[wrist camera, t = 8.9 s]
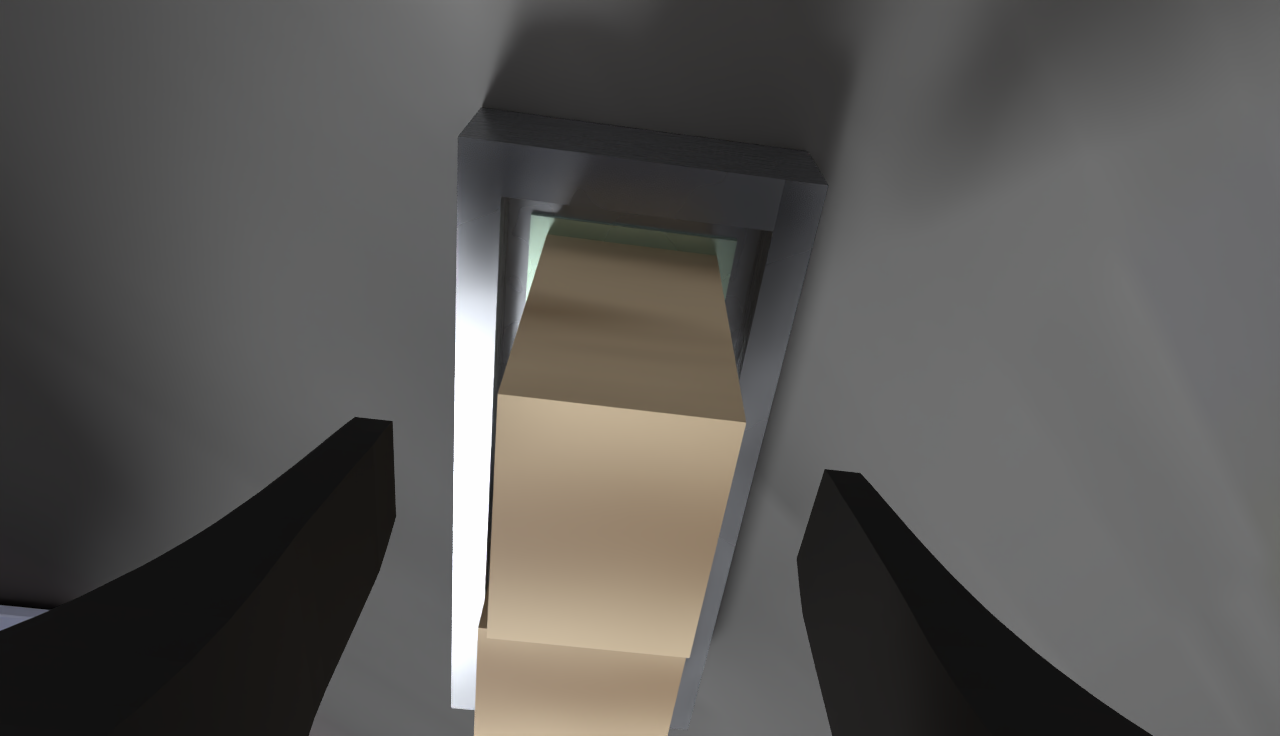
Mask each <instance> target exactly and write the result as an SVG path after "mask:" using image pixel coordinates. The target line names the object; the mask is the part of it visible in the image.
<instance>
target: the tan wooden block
mask: <svg viewBox="0 0 1280 736" xmlns="http://www.w3.org/2000/svg"><path fill="white" fill-rule="evenodd" d="M745 426H746V418H745V412H744V407H743V401H742V395H741V390H740V384H739V379H738V373H737V367H736V362H735V356H734V350H733V345H732V339H731V333H730V328H729V322H728V316H727V311H726V305H725V299H724V294H723V288H722V282H721V277H720V271H719V265H718V260H717V256H715V255H707V254H699V253H691V252H683V251H675V250H668V249H660V248H652V247H644V246H636V245H628V244H620V243H612V242H605V241H597V240H589V239H581V238H573V237H565V236H557V235H549V234H547V236H546V239H545V242H544V246H543V249H542V252H541V255H540V259H539V262H538V265H537V268H536V271H535V275H534V278H533V281H532V284H531V288H530V291H529V294H528V297H527V301H526V304H525V307H524V310H523V314H522V317H521V320H520V323H519V327H518V330H517V333H516V336H515V339H514V343H513V346H512V349H511V352H510V356H509V359H508V362H507V365H506V369H505V372H504V375H503V378H502V382H501V385H500V388H499V391H498V398H497V420H496V443H495V465H494V487H493V509H492V532H491V554H490V576H489V599H488V621H487V638H490V639H500V640H511V641H521V642H531V643H541V644H551V645H561V646H571V647H581V648H592V649H602V650H612V651H622V652H632V653H642V654H652V655H662V656H673V657H683V658H690V654H691V649H692V645H693V641H694V637H695V633H696V629H697V625H698V620H699V616H700V612H701V608H702V604H703V600H704V596H705V591H706V587H707V583H708V579H709V575H710V571H711V567H712V563H713V558H714V554H715V550H716V546H717V542H718V538H719V534H720V529H721V525H722V521H723V517H724V513H725V509H726V505H727V500H728V496H729V492H730V488H731V484H732V480H733V476H734V471H735V467H736V463H737V459H738V455H739V451H740V447H741V442H742V438H743V434H744V430H745Z"/></svg>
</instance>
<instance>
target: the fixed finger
mask: <svg viewBox="0 0 1280 736" xmlns="http://www.w3.org/2000/svg"><path fill="white" fill-rule="evenodd" d="M488 599H489V583H488V588H487V592H486V596H485V600H484V604H483V609H482V613H481V617H480V621H479V626H478V641H477V668H476V696H475V723H474V736H667V735H668V731H669V727H670V723H671V719H672V714H673V710H674V706H675V702H676V698H677V694H678V689H679V685H680V681H681V677H682V673H683V668H684V664H685V660H686V658H683V657H673V656H662V655H652V654H642V653H632V652H622V651H612V650H602V649H592V648H581V647H571V646H561V645H551V644H541V643H531V642H521V641H511V640H500V639H490V638H487V621H488Z"/></svg>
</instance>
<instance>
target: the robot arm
mask: <svg viewBox="0 0 1280 736" xmlns="http://www.w3.org/2000/svg"><path fill="white" fill-rule="evenodd" d="M395 518H396V505H395V477H394V449H393V422H392V421H386V420H377V419H368V418H359V417H354V418H353V419H352V420H350V421H349V422H348V423H346V424H345V425H344V426H343V427H341V428H340V429H339V430H337V431H336V432H335V433H334V434H333V435H331V436H330V437H329V438H328V439H326V440H325V441H324V442H323V443H321V444H320V445H319V446H318V447H317V448H315V449H314V450H313V451H312V452H310V453H309V454H308V455H307V456H305V457H304V458H303V459H302V460H300V461H299V462H298V463H297V464H295V465H294V466H293V467H292V468H290V469H289V470H288V471H286V472H285V473H284V474H282V475H281V476H280V477H279V478H277V479H276V480H275V481H273V482H272V483H271V484H269V485H268V486H267V487H266V488H264V489H263V490H262V491H260V492H259V493H257V494H256V495H255V496H253V497H252V498H251V499H249V500H248V501H246V502H245V503H243V504H242V505H240V506H239V507H238V508H236V509H235V510H233V511H232V512H230V513H229V514H227V515H226V516H225V517H223V518H222V519H220V520H219V521H217V522H216V523H214V524H213V525H211V526H210V527H208V528H207V529H205V530H204V531H202V532H200V533H199V534H197V535H195V536H194V537H192V538H190V539H189V540H187V541H185V542H184V543H182V544H180V545H179V546H177V547H175V548H173V549H172V550H170V551H168V552H166V553H165V554H163V555H161V556H159V557H158V558H156V559H154V560H152V561H150V562H149V563H147V564H145V565H143V566H141V567H139V568H137V569H135V570H133V571H131V572H129V573H127V574H125V575H123V576H121V577H119V578H117V579H115V580H113V581H111V582H109V583H107V584H105V585H103V586H101V587H99V588H97V589H95V590H93V591H91V592H89V593H87V594H85V595H83V596H81V597H79V598H76V599H74V600H72V601H70V602H67V603H65V604H63V605H61V606H58V607H56V608H54V609H51V610H46V609H36V608H26V607H16V606H5V605H0V736H309V733H310V730H311V727H312V724H313V721H314V718H315V715H316V713H317V710H318V708H319V705H320V703H321V700H322V698H323V695H324V693H325V691H326V688H327V686H328V684H329V682H330V679H331V677H332V675H333V673H334V671H335V668H336V666H337V664H338V662H339V660H340V658H341V655H342V653H343V651H344V649H345V647H346V644H347V642H348V640H349V638H350V636H351V633H352V631H353V629H354V627H355V625H356V622H357V620H358V618H359V616H360V614H361V611H362V609H363V607H364V605H365V602H366V600H367V598H368V596H369V594H370V591H371V589H372V587H373V585H374V582H375V580H376V578H377V575H378V573H379V571H380V568H381V564H382V561H383V558H384V555H385V552H386V549H387V545H388V542H389V539H390V535H391V532H392V528H393V525H394V522H395ZM797 566H798V577H799V587H800V596H801V604H802V612H803V617H804V622H805V626H806V630H807V634H808V639H809V643H810V647H811V651H812V655H813V659H814V664H815V668H816V672H817V676H818V680H819V684H820V688H821V692H822V696H823V700H824V704H825V708H826V712H827V716H828V720H829V724H830V728H831V732H832V736H1153V735H1151V734H1150V733H1148V732H1146V731H1145V730H1143V729H1142V728H1140V727H1139V726H1137V725H1136V724H1134V723H1132V722H1131V721H1129V720H1128V719H1126V718H1125V717H1123V716H1122V715H1120V714H1119V713H1117V712H1116V711H1115V710H1113V709H1112V708H1110V707H1109V706H1107V705H1106V704H1104V703H1103V702H1101V701H1100V700H1098V699H1097V698H1096V697H1094V696H1093V695H1092V694H1090V693H1089V692H1088V691H1086V690H1085V689H1083V688H1082V687H1081V686H1079V685H1078V684H1077V683H1075V682H1074V681H1073V680H1071V679H1070V678H1069V677H1067V676H1066V675H1065V674H1063V673H1062V672H1061V671H1059V670H1058V669H1056V668H1055V667H1054V666H1053V665H1051V664H1050V663H1049V662H1048V661H1046V660H1045V659H1044V658H1043V657H1041V656H1040V655H1039V654H1038V653H1036V652H1035V651H1034V650H1033V649H1032V648H1030V647H1029V646H1028V645H1027V644H1026V643H1024V642H1023V641H1022V640H1021V639H1020V638H1019V637H1017V636H1016V635H1015V634H1014V633H1013V632H1012V631H1010V630H1009V629H1008V628H1007V627H1006V626H1005V625H1003V624H1002V623H1001V622H1000V621H999V620H998V619H997V618H996V617H995V616H993V615H992V614H991V613H990V612H989V611H988V610H987V609H986V608H985V607H984V606H983V605H982V604H981V603H980V602H979V601H977V600H976V599H975V598H974V597H973V596H972V595H971V594H970V593H969V592H968V591H967V590H966V589H965V588H964V587H963V586H962V585H961V584H960V583H959V582H958V581H957V580H956V579H955V578H954V577H953V576H952V575H951V574H950V573H949V572H948V571H947V570H946V568H945V567H944V566H943V565H942V564H941V563H940V562H939V561H938V560H937V559H936V558H935V557H934V556H933V555H932V554H931V553H930V551H929V550H928V549H927V548H926V547H925V546H924V545H923V544H922V543H921V542H920V540H919V539H918V538H917V537H916V536H915V535H914V534H913V533H912V531H911V530H910V529H909V528H908V527H907V526H906V525H905V523H904V522H903V521H902V520H901V519H900V518H899V517H898V515H897V514H896V513H895V512H894V511H893V510H892V508H891V507H890V506H889V505H888V504H887V503H886V502H885V500H884V499H883V498H882V497H881V496H880V495H879V493H878V492H877V491H876V490H875V489H874V488H873V487H872V485H871V484H870V483H869V482H868V481H867V480H866V479H865V478H864V477H863V476H862V474H861V473H854V472H845V471H836V470H827V469H825V470H824V473H823V477H822V480H821V483H820V486H819V489H818V493H817V496H816V499H815V502H814V505H813V509H812V512H811V515H810V518H809V521H808V524H807V528H806V531H805V534H804V537H803V540H802V544H801V547H800V550H799V553H798V556H797Z"/></svg>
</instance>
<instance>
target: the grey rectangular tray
mask: <svg viewBox="0 0 1280 736" xmlns="http://www.w3.org/2000/svg"><path fill="white" fill-rule="evenodd" d="M827 189H828V184H827V183H826V181H825V179H824V178H823V176H822V174H821V173H820V171H819V169H818V168H817V166H816V164H815V163H814V161H813V159H812V157H811V156H810V154H809V152H806V151H799V150H792V149H784V148H777V147H769V146H762V145H754V144H747V143H740V142H732V141H725V140H717V139H710V138H703V137H695V136H688V135H680V134H673V133H666V132H658V131H651V130H643V129H636V128H629V127H621V126H614V125H606V124H599V123H591V122H584V121H577V120H569V119H562V118H554V117H547V116H540V115H532V114H525V113H517V112H510V111H503V110H495V109H488V108H480V110H479V111H478V112H477V113H476V115H475V116H474V117H473V118H472V120H471V121H470V122H469V123H468V125H467V126H466V127H465V128H464V130H463V131H462V132H461V133H460V135H459V136H458V181H457V264H456V347H455V430H454V513H453V596H452V679H451V708H459V709H470V710H475V696H476V668H477V641H478V626H479V621H480V617H481V613H482V609H483V604H484V600H485V596H486V592H487V588H488V583H489V576H490V554H491V532H492V509H493V487H494V465H495V443H496V420H497V398H498V391H499V388H500V385H501V382H502V378H503V375H504V372H505V369H506V365H507V362H508V359H509V356H510V352H511V349H512V346H513V343H514V339H515V336H516V333H517V330H518V327H519V323H520V320H521V317H522V314H523V310H524V307H525V304H526V301H527V297H528V294H529V291H530V288H531V284H532V281H533V278H534V275H535V271H536V268H537V265H538V262H539V259H540V255H541V252H542V249H543V246H544V242H545V239H546V236H547V234H549V235H557V236H565V237H573V238H581V239H589V240H597V241H605V242H612V243H620V244H628V245H636V246H644V247H652V248H660V249H668V250H675V251H683V252H691V253H699V254H707V255H715V256H717V260H718V265H719V271H720V277H721V282H722V288H723V294H724V299H725V305H726V311H727V316H728V322H729V328H730V333H731V339H732V345H733V350H734V356H735V362H736V367H737V373H738V379H739V384H740V390H741V395H742V401H743V407H744V412H745V418H746V426H745V430H744V434H743V438H742V442H741V447H740V451H739V455H738V459H737V463H736V467H735V471H734V476H733V480H732V484H731V488H730V492H729V496H728V500H727V505H726V509H725V513H724V517H723V521H722V525H721V529H720V534H719V538H718V542H717V546H716V550H715V554H714V558H713V563H712V567H711V571H710V575H709V579H708V583H707V587H706V591H705V596H704V600H703V604H702V608H701V612H700V616H699V620H698V625H697V629H696V633H695V637H694V641H693V645H692V649H691V654H690V658H686V660H685V664H684V668H683V673H682V677H681V681H680V685H679V689H678V694H677V698H676V702H675V706H674V710H673V714H672V719H671V723H670V727H669V728H672V729H683V730H688V728H689V724H690V720H691V716H692V712H693V708H694V704H695V700H696V697H697V693H698V689H699V685H700V681H701V677H702V673H703V669H704V666H705V662H706V658H707V654H708V650H709V646H710V642H711V638H712V635H713V631H714V627H715V623H716V619H717V615H718V611H719V607H720V604H721V600H722V596H723V592H724V588H725V584H726V580H727V576H728V573H729V569H730V565H731V561H732V557H733V553H734V549H735V545H736V542H737V538H738V534H739V530H740V526H741V522H742V518H743V514H744V511H745V507H746V503H747V499H748V495H749V491H750V487H751V483H752V480H753V476H754V472H755V468H756V464H757V460H758V456H759V452H760V449H761V445H762V441H763V437H764V433H765V429H766V425H767V421H768V418H769V414H770V410H771V406H772V402H773V398H774V394H775V390H776V387H777V383H778V379H779V375H780V371H781V367H782V363H783V359H784V356H785V352H786V348H787V344H788V340H789V336H790V332H791V328H792V325H793V321H794V317H795V313H796V309H797V305H798V301H799V297H800V294H801V290H802V286H803V282H804V278H805V274H806V270H807V266H808V263H809V259H810V255H811V251H812V247H813V243H814V239H815V235H816V232H817V228H818V224H819V220H820V216H821V212H822V208H823V204H824V201H825V197H826V193H827Z"/></svg>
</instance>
